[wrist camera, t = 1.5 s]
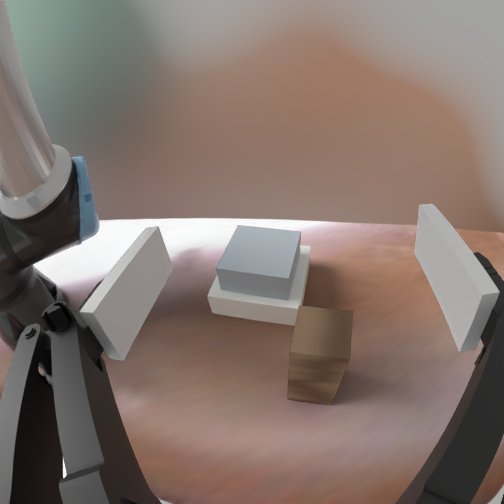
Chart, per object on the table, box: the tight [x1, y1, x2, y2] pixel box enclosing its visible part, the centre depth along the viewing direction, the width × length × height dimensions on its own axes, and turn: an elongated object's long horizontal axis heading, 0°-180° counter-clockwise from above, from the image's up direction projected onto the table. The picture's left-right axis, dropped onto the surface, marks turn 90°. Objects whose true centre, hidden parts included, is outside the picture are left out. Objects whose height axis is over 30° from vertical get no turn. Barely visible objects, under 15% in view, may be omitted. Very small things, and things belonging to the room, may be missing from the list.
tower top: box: [216, 225, 301, 301], centre depth 40 cm, size 9×9×4 cm
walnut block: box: [287, 305, 353, 405], centre depth 28 cm, size 5×5×11 cm
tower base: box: [207, 245, 310, 326], centre depth 43 cm, size 12×12×4 cm
